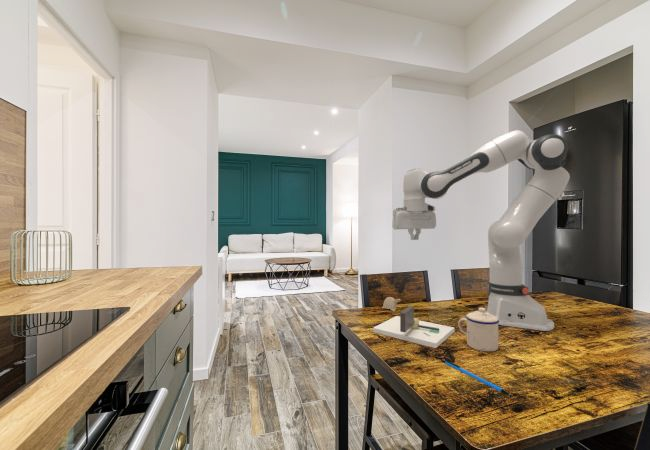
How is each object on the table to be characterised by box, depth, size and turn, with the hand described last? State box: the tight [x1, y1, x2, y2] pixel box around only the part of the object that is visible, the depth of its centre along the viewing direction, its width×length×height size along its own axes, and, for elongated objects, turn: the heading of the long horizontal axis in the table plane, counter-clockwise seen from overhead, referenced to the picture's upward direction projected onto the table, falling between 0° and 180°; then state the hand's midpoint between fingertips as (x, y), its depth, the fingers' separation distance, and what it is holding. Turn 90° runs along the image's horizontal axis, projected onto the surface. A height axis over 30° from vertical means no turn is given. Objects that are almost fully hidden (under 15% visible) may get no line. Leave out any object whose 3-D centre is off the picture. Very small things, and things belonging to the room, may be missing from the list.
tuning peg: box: [399, 305, 439, 332], centre depth 101 cm, size 13×10×8 cm
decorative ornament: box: [381, 296, 401, 312], centre depth 136 cm, size 4×8×5 cm, turn 38°
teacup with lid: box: [458, 307, 499, 352], centre depth 96 cm, size 12×9×12 cm
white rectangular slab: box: [372, 315, 456, 349], centre depth 107 cm, size 22×18×2 cm
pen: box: [441, 359, 511, 396], centre depth 76 cm, size 1×19×1 cm, turn 26°
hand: (414, 239), depth 132 cm, fingers closed
